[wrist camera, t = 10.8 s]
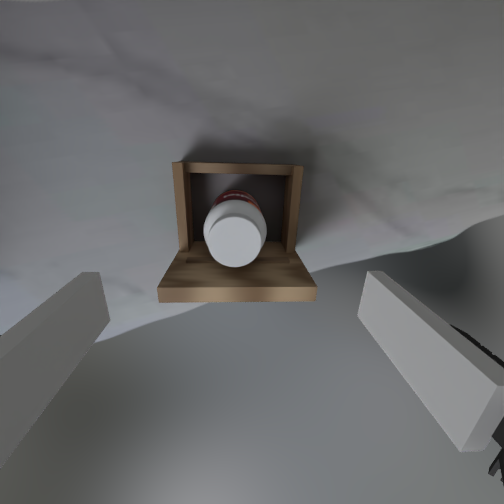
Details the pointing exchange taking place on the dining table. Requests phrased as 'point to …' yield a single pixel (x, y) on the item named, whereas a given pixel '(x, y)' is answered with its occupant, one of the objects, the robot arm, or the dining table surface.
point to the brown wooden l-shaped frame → (245, 277)
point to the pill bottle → (235, 229)
